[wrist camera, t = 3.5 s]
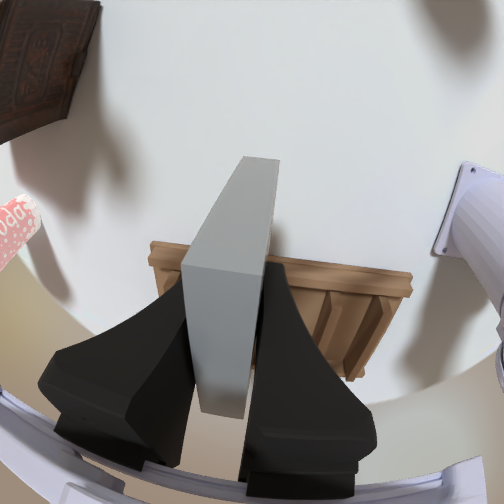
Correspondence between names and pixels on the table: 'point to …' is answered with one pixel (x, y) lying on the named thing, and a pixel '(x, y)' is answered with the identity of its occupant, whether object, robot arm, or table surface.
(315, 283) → the dish rack
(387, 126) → the table surface
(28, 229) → the beverage cup
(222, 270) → the grey upright slab
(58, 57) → the coffee grinder
